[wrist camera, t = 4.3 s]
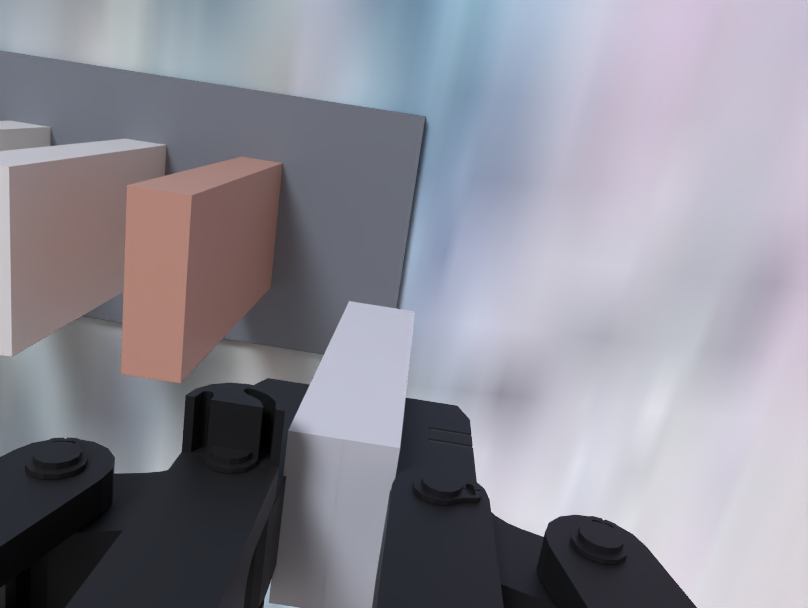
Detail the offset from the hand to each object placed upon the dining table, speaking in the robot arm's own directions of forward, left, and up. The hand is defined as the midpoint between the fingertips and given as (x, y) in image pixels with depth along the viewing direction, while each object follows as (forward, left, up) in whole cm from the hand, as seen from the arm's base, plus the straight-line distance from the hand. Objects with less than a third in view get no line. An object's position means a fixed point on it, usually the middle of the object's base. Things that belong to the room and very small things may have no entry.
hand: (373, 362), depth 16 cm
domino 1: (-8, -7, -12) cm, 16 cm away
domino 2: (-4, -4, -12) cm, 13 cm away
